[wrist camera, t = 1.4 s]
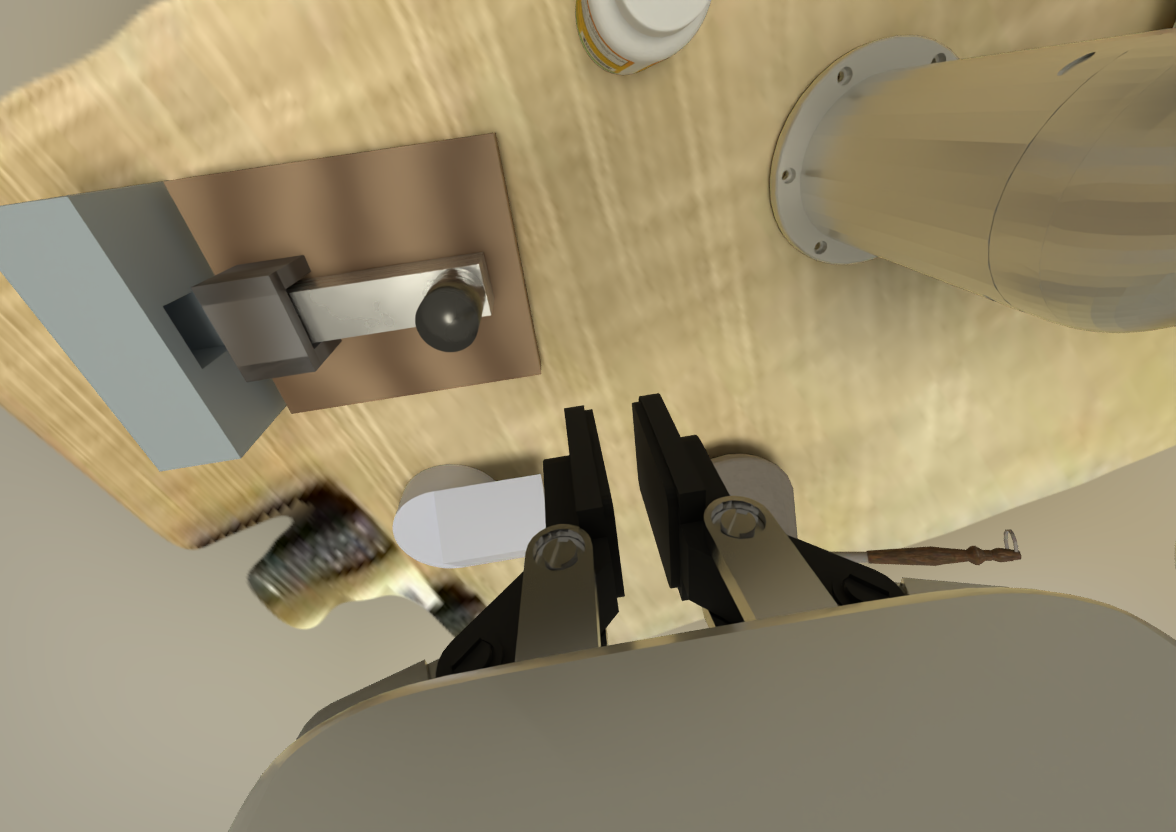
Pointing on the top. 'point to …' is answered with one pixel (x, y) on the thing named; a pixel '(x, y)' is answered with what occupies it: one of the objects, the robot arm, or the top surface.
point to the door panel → (357, 265)
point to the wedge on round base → (468, 516)
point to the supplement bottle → (636, 30)
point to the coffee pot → (777, 496)
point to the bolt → (399, 301)
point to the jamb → (136, 319)
